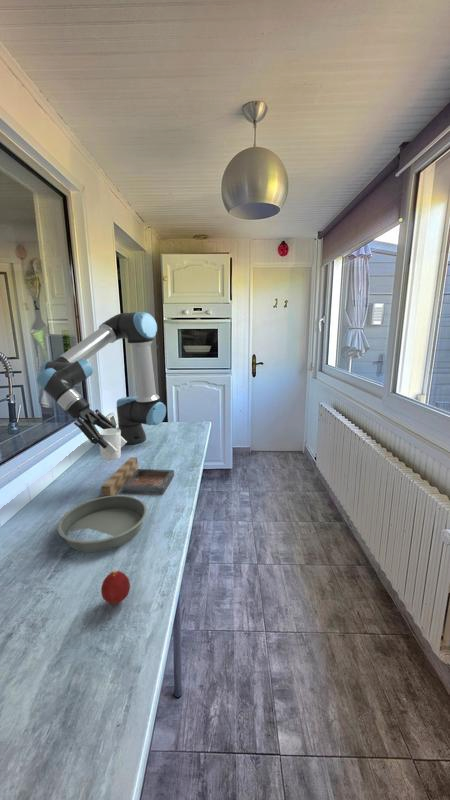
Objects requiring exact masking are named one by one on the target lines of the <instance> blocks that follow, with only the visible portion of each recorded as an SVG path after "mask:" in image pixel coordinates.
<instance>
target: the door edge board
mask: <svg viewBox="0 0 450 800" xmlns="http://www.w3.org/2000/svg"><path fill="white" fill-rule="evenodd" d="M137 469H139V465H138V457H130V456H129V457H128V459H127V460H126V461H125V462H124V463H123V464H122V465H121V466H120V467H119V468H118V469H117V470H116V471H115V472H114V473H113V474H112V475H111V476H110V477H109V478H108V479H107V480H106V481H105V482H104V483H103V484H102V485H101V497H105V496H114V495H118V493H119V492H120V490H121V489H123V485H124V484H125V483H126V482H127V481H128V480H129V478H130V477H131V476H132V475H133V474H134V473H135V471H136V470H137Z"/></svg>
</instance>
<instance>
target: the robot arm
mask: <svg viewBox="0 0 450 800" xmlns="http://www.w3.org/2000/svg"><path fill="white" fill-rule="evenodd" d="M157 332H158V324H157V322H156V319H155V318H154V316H152V314H150V313H148V312H141V311H137V312H136V311H135V312H122V313H118V314H116V315H113V316H112V317H110V318H108V319H107V320H106V321H104V322H102V323H100V325H99V326H98V329H97V330H95V331H94V332H93V333H91V334H90V335H88V336H87V337H85V338H84V339H82V340H81V341H80V342H78V343H76V344H75V345H73V346H72V347H70V348H69V349H68V350H67V351H65V352H64V353H62V354H61V355H60V356H58V357H56V358H54V360H52V361H51V360H49V361H45V362H42V363H41V365H40V366H39V367H40V368H39V374H38V375H37V377H36V383H37V384H38V385H39V388H41V389H42V390H43V391H44V392H46V394H47V395H49V396H50V398H52V400H53V401H55V402H56V403H57V404H58V405H59V406H60V407H61V408H62V409H63V410H64V411H66V413H67V414H68V415H69V416H70V417H71V418H72V419H75V421H74V423H73V425H75V426H76V427H77V428H78V429H79V431H80V430H81V432H82V433H83V434H84V436H85V437H87V439H88V441H90V443H91V444H94V445H97V444H98V445H99V444H100V445H101V446H102V447H103V448H104V449H105V450H106V451H107V452H108V453H109V454H110V455H111V456H112V455H113V454H114V453H115V452H116V451H117V449H116V448H115V447H114V446H113V445H112V444H111V443H109V442H108V441H107V440H106V439H105V438H104V437H103V438H102V437H101V435H100V433H99V430H98V428H96V426H98V427H99V428H100V429H101V430H103V429H110V428H116V429H120V430H121V448H123V447H124V446H131V445H138V444H141V443H143V442H145V441H146V440H147V434H146V432H145V430H144V427H143V425H147V426H158V425H160V424H161V423H162V422H163V421H164V419H165V417H166V414H167V407H166V404H164V403H163V402H161V398H160V396H159V395H158V394H157V392H156V383H155V373H154V363H153V356H152V347H151V345H152V343H153V342H154V338H155V336H156V335H157ZM121 339H127V344H128V345H130V346H131V351H132V359H133V365H134V373H135V381H136V388H137V395H132V396H126V397H122V398H119V399H117V401H116V415H117V422H118V428H117V425H116V424H114V423H113V422H112V421H111V420H110V419H108V418H107V417H106V416H105V415H104V414H102V412H100V410H99V409H95V410H92V409H91V408H90V406H91V405H90V403H89V402H88V401H87V400H86V399H85V398H83V397H82V395H81V394H80V393H79V392H78V391H77V390H76V389H75V388H74V387H75V386H76V385H78V384H80V383H82V382H83V381H85V380H87V379H88V378H89V377H91V376H92V375H93V373H94V370H93V367H92V364H91V363H90V361H88V359H90V358H91V357H92V356H94V355H96V353H98V352H99V351H101V350H102V349H103V348H105V347H106V346H107V345H108V344H112V343H113V344H114V343H115V342H116V341H118V340H121ZM100 445H99V446H100Z"/></svg>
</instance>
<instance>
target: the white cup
mask: <svg viewBox="0 0 450 800" xmlns="http://www.w3.org/2000/svg"><path fill="white" fill-rule="evenodd" d="M98 432H99V433H100V435H101V437H102V438H103V437H104V438H105V439H106V440H107V441H108V442H109V443H111V444H112V445H113V446H114V447H115V448H116V449H117V451H116V452H115V453H114V454H113V455H112V456H111V455H110V454H109V453H108V452H107V451H106V450H105V449H104V448H103V447H102V446H101V445H100V444H99V443H98V445H99V450H100V456H101V459H102V460H103V461H115V460H118V459H120V458H121V456H122V452H121V449H122V447H121V430H120V429H118V428H117V427H116V428H110V429H101V430H98Z"/></svg>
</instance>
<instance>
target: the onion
mask: <svg viewBox="0 0 450 800" xmlns="http://www.w3.org/2000/svg"><path fill="white" fill-rule="evenodd" d="M130 589H131V583H130V580H129V577H128V576H127V575H126V574H125V573H124V572H123V571H119V570H112V571H111V572H110V573H109V574H107V576H106V577H105V578H104V579H103V582H102V585H101V589H100V591H101V596H102V599H103V600H104V601H105V602H106V603H108V604H112V605H113V604H115V605H118V604H120V603H121V602H123V601H124V600H125V599H126V598H127V597H128V595H129V592H130Z"/></svg>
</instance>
